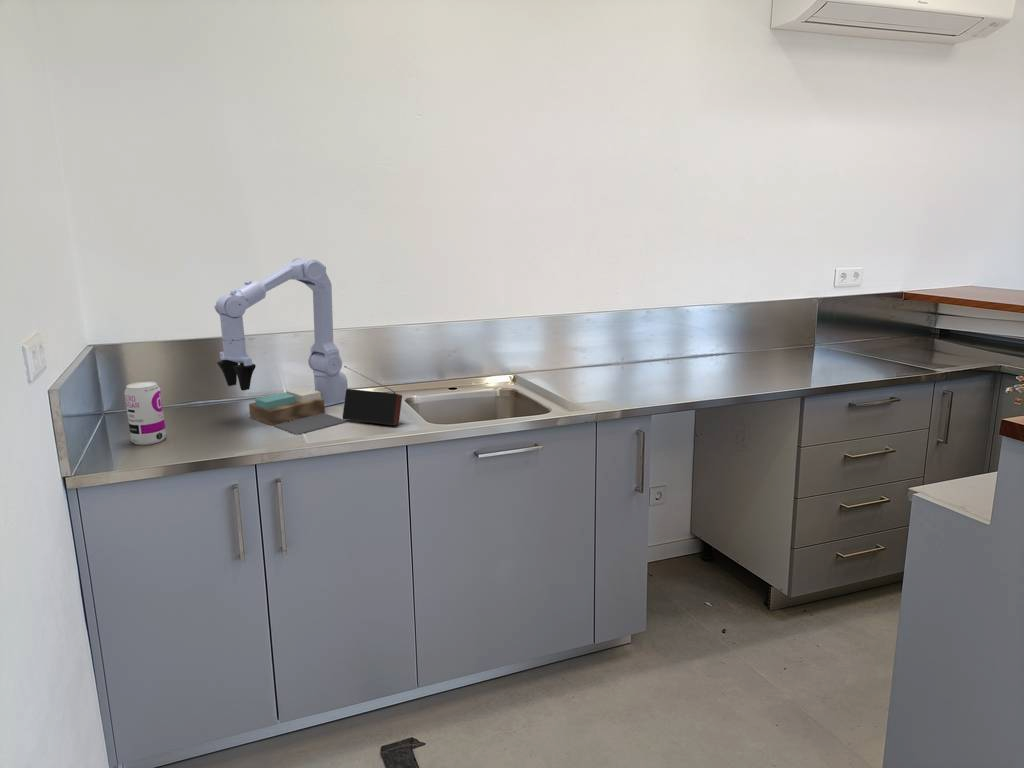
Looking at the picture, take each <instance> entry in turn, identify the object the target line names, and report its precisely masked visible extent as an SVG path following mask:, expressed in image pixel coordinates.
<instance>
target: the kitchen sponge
mask: <svg viewBox="0 0 1024 768" xmlns="http://www.w3.org/2000/svg"><path fill="white" fill-rule="evenodd" d="M343 367H344V368H347V369H348V370H350V371H352V372H354V373H357V374H358V375H360V376H362V377H363V378H366V379H368V380H370V381H372V382H374V383H375V384H378V385H379V386H381V387H384V388H385V389H387V390H389V391H391V392H393V393H390V392H381V391H371V390H362V389H352V388H348V389H346V394H345V402H343V411H342V419H344V420H347V421H353V422H356V421H357V422H365V423H373V424H378V425H379V424H381V425H388V426H399V424H400V419H401V418H400V417H401V409H402V402H403V401H402V399H403V395H402V394H400V393H399V394H398V393H396V391H395V390H393V389H391V388H389V387H387V386H386V385H383V384H381V383H379V382H377V381H375V380H373V379H371V378H369V377H367V376H365V375H364V374H361V373H359V372H357V371H355V370H353V369H351V368H349V367H347V366H346V365H344V366H343Z"/></svg>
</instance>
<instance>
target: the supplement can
mask: <svg viewBox="0 0 1024 768" xmlns="http://www.w3.org/2000/svg"><path fill="white" fill-rule="evenodd" d="M161 390H162V389H161V387H160V386H159V385H158V383H157V382H156V381H139V382H138V381H137V382H133V383H129V384H127V385H126V386H125V390H124V400H125V407H126V413H127V420H128V422H127V423H128V428H129V434H130V440H131V442H132V443H134V444H135V445H138V446H148V445H155V444H159V443H160V442H163V441H164V440H165V438H166V437H167V430H166V422H165V414H164V407H163V401H162V398H163V397H162V391H161Z"/></svg>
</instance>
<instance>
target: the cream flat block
mask: <svg viewBox="0 0 1024 768" xmlns="http://www.w3.org/2000/svg"><path fill="white" fill-rule="evenodd" d="M285 393H287V394H290V395H293V396H295V400H296V401H299V402H302V403H304V402H308V401H312V400H317V399H321V392H319V391H316V390H315V389H312V388H308V387H306V386H302V387H298V388H291V389H289V390H286V391H285Z"/></svg>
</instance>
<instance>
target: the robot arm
mask: <svg viewBox="0 0 1024 768" xmlns="http://www.w3.org/2000/svg"><path fill="white" fill-rule="evenodd" d="M289 280H294V281H297V282H300V283H303V284H304V285H306V286H307V287H308V288H309V289H310V290H311V291H312V301H313V302H312V303H313V304H312V305H313V331H314V335H313V336H314V343H313V344H312V345H311V347H310V353H309V356H308V359H307V360H308V366H309V368H310V369H311V370H312V374H313V381H314V390H316V391H319V392H321V399H324V407H328V406H329V407H330V406H333V405H337V404H341V403H344V402H345V394H346V389H349V386H348V377H347V376H346V374H345V373H344V372H342V371H341V370H342V367H343V360H342V358H341V356H340V350H339V348H338V347H337V346H336V344H335V343H334V322H333V321H334V320H333V295H332V294H333V291H332V290H333V287H332V282H331V280H330V277H329V275H328V274H327V267H326V266H325V264H323V263H322V262H321V261H320V260H317V259H305V258H304V259H303V258H298V257H297V258H293V259H292V260H291V261H288V262H286V263H285V264H284V265H282V266H281V267H279V268H277V270H275V271H273V272H271V273H270V274H269V275H267V276H265V277H264V278H262V279H261V280H259V281H257V280H254V279H253V280H246V281H244V285H242V286H241V287H238V288H237V289H232V290H230V294H223V295H221V296H219V297H217V298H218V299H217V300H216V302H215V305H214V309H215V312H216V313H217V314H218V315H219V319H220V320H219V321H220V329H221V338H222V348H223V351H220V352H219V358H220V361H217V363H216V364H217V365H218V367H219V368H220V369H221V372H222V373H223V376H224V378H225V381H226V385H227V386H228V387H232V386H236V385H237V381H238V384H239V388H240V390H241V391H242V392H243V391H247V390H250V389H251V387H250V386H251V382H252V378H253V376H252V375H253V373H254V371H255V369H256V367H257V366H256V364H254V363H253V359H252V357H250V356H249V355H248V353H247V347H246V346H247V345H246V338H245V330H244V328H245V327H244V318H243V316H244V314H245V313H246V310H247V309H249V308H251V307H252V306H255V305H256V304H258V303H259V302H261V301H262V300H264V299H265V298H266V295H267V292H268V291H271V290H273V289H275V288H276V287H278V286H281V285H283V284H284V283H286V282H288V281H289Z"/></svg>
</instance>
